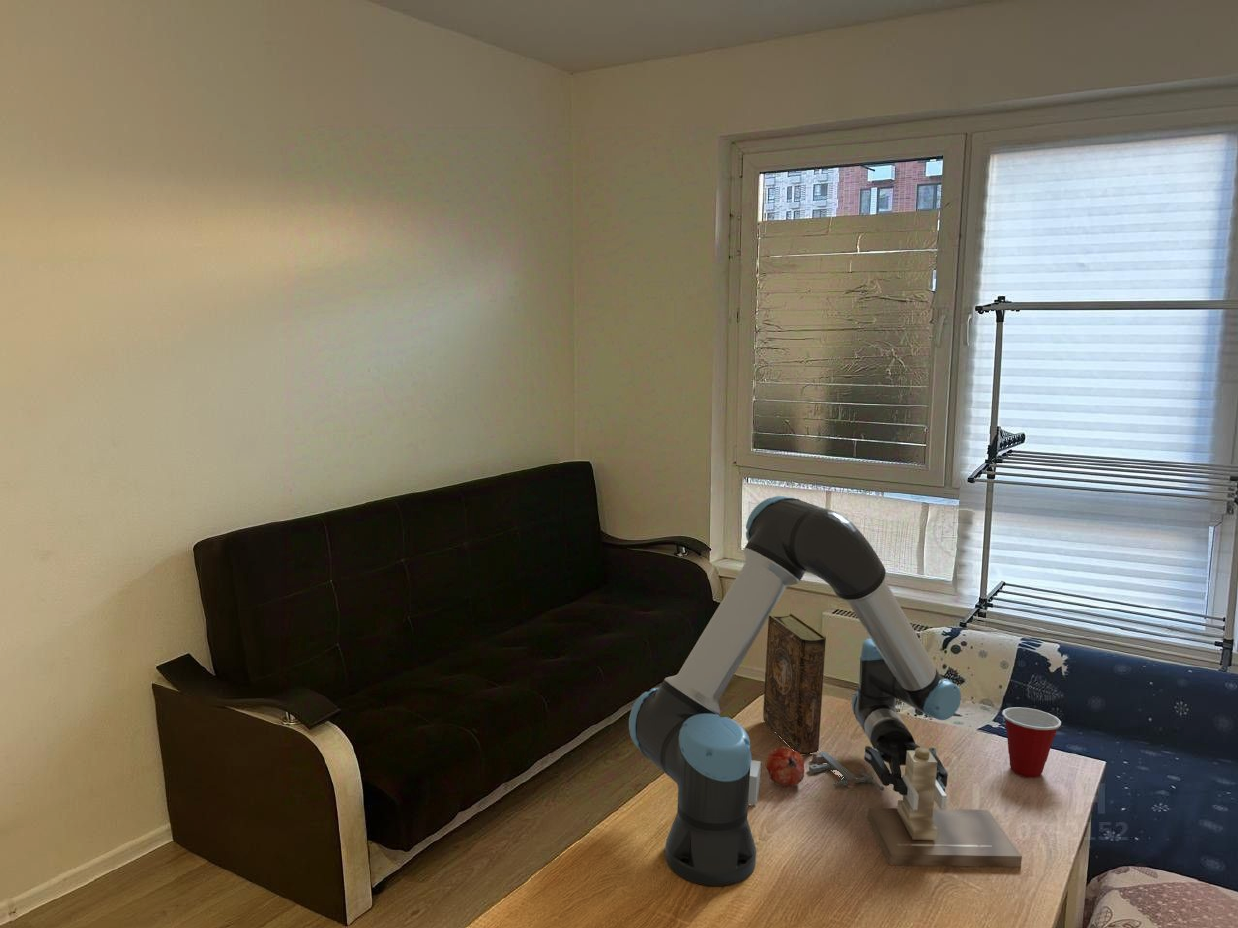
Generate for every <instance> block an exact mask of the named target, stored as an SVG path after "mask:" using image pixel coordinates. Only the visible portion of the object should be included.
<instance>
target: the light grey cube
mask: <svg viewBox="0 0 1238 928" xmlns="http://www.w3.org/2000/svg"><path fill="white" fill-rule="evenodd" d="M761 769H762V761H760V760H753V759H751V766H750V781H749V796H748V804H751V805H756V806H757V802H758V798H757V797H759V794H760V790H759V789H761V788H760V786H761ZM758 793H759V794H758ZM756 801H757V802H756ZM751 805H750V806H751Z"/></svg>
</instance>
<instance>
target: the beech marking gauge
mask: <svg viewBox="0 0 1238 928" xmlns="http://www.w3.org/2000/svg"><path fill="white" fill-rule="evenodd" d="M904 767H905V768H904V775H907V776H908V778H909V780H910V781H911V783H912V785H913V786H914V788H915V790H916V791H917V793H918V795H919V798H918V809H917V810H913V809H912V807H911V805H910V804H909V802H908V800H907V798H906V797H905V795H902V800H901V799H900V800H897V805H896V806H897V807H896V808H897V811H898V813H899V815H900V817H901V819H902V821H903V822H904V824H905V826H906V828H907V830H908V832H909V833H910V835H911V837H912V839H913V840H936V836H937V828H936V827H935V825H934V823H933V822H932V817H933V809H934V803H935V800H934V794H935V784H936V773H937V761H936V759H935V758H934V757H933V755H932V754H931V752H930V751H929V749H927V748H924V747H921V748H916V749H915V751H909V750H907V755H906V765H905V766H904Z"/></svg>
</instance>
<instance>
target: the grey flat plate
mask: <svg viewBox="0 0 1238 928" xmlns="http://www.w3.org/2000/svg"><path fill="white" fill-rule="evenodd" d="M866 816H867V817H866V819H867V820H868V822H869V825H870V827H871V829H872V831H873V833H874V835H875V837H876V839H877V842H878V843H879V845H880V848H881V850H882V852H883V854H884V856H885V858H886V860H887V862H888V865H889V866H927V867H928V866H929V867H930V866H932V867H934V866H935V867H937V866H939V867H985V868H986V867H989V868H991V867H992V868H993V867H994V868H995V867H996V868H1021V867H1022V862H1023V861H1022V859H1023V855H1022V854H1021V853H1020V851H1019V850H1018V849H1017V847H1016V846H1015V844H1014V843H1013V842H1012V840H1011V839H1010V838H1009V836H1008V835H1007V833H1006V832H1005V831H1004V829H1003V828H1002V827H1001V825H1000V824H999V822H998V821H997V820H996V818H995V816H994V815H993V814H992V813H991V812H990V810H989V809H967V808H966V809H964V808H963V809H961V808H960V809H958V808H956V809H955V808H954V809H953V808H946V809H945V810H940V808H933V817H932V822H933V823H934V825H935V827H936V828H937V836H936V840H913V839H912V837H911V835H910V833H909V832H908V830H907V828H906V826H905V824H904V822H903V821H902V819H901V817H900V815H899V813H898V811H897V807H895V808H894V807H889V808H888V807H867V815H866Z"/></svg>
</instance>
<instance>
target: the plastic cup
mask: <svg viewBox="0 0 1238 928" xmlns="http://www.w3.org/2000/svg"><path fill="white" fill-rule="evenodd" d="M1001 714H1002V717H1003V718H1004V723H1005V729H1006V737H1007V739H1006V740H1007V750H1008V751H1007V752H1008V755H1009V756H1008V759H1009V766H1010V770H1011V772H1012V773H1014V774H1015V775H1017V776H1020V777H1022V778H1027V779H1036V778H1037V779H1038V778H1039V777H1041V775H1042V774H1043V773H1044V772H1043V771H1044V769H1045V765H1046V762H1047V760H1048V757H1049V753H1050V751H1051V748H1052V745H1053V741H1054V739H1055V737H1056V734H1057V731H1058V730H1059V728H1060V727H1061V725H1062V721H1061V720H1060V719H1059V718H1058V717H1057V716H1055V715H1053V714H1051V713H1049V712H1046V711H1042V710H1041V709H1035V708H1030V707H1019V706H1018V707H1017V706H1016V707H1007V708H1005V709H1003V710H1002V712H1001Z"/></svg>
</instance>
